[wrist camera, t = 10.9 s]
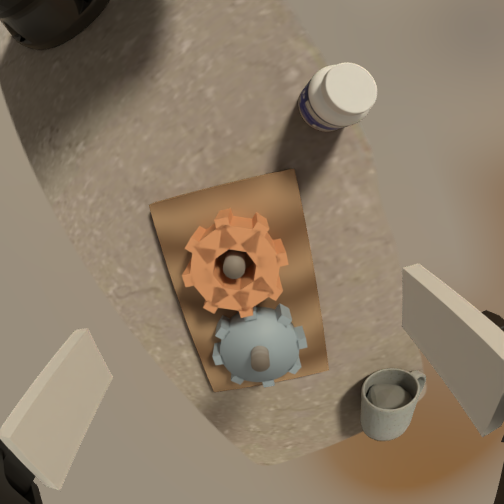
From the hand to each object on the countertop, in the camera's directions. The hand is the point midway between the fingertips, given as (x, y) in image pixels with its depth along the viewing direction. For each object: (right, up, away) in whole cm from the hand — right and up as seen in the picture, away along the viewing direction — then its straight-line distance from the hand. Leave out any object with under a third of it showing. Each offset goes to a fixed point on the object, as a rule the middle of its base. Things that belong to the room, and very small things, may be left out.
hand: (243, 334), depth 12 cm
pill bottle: (+7, +17, +16) cm, 24 cm away
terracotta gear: (-1, +3, +18) cm, 18 cm away
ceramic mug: (+19, -15, +26) cm, 36 cm away
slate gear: (+1, -6, +21) cm, 22 cm away
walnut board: (0, -1, +21) cm, 21 cm away
